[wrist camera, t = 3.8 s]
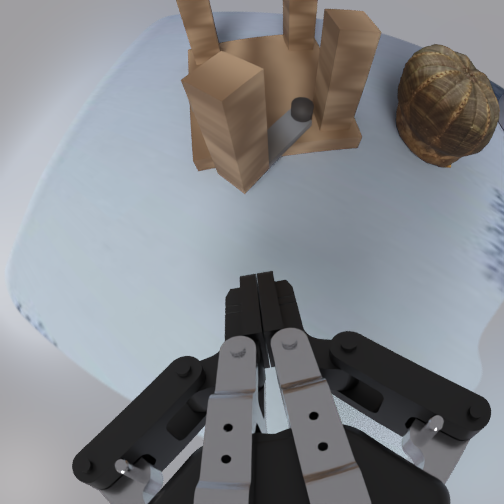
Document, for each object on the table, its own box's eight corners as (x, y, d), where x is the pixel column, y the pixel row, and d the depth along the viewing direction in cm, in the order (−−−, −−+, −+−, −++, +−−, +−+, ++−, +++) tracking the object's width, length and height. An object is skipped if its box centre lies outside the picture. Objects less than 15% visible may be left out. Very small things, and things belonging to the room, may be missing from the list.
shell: (362, 108, 27) (390, 27, 16) (427, 97, 27) (463, 33, 16) (413, 191, 25) (477, 125, 13) (474, 167, 25) (531, 114, 13)
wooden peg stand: (310, 44, 30) (316, -42, 17) (357, 147, 26) (400, 42, 13) (191, 60, 31) (163, -24, 17) (198, 171, 27) (144, 66, 13)
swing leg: (294, 106, 25) (299, 6, 14) (319, 121, 25) (338, 21, 13) (219, 177, 24) (180, 80, 13) (245, 197, 23) (221, 101, 12)
